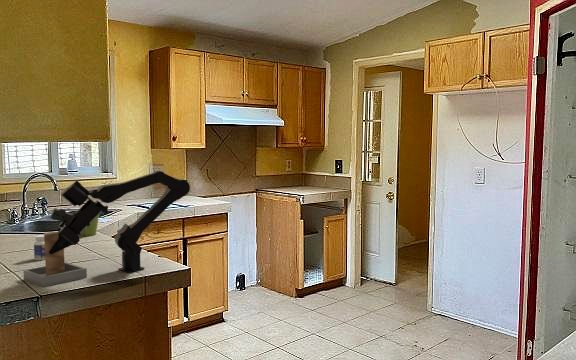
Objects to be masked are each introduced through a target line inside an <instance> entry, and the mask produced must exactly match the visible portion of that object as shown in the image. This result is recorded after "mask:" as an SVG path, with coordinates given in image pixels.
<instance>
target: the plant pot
mask: <svg viewBox="0 0 576 360" xmlns="http://www.w3.org/2000/svg"><path fill="white" fill-rule="evenodd" d="M99 218H100V214H99V215H98V216H97V217H96V218H95V219H94V220H93V221H92V222H91V223H90V225H89V226H87V227H86V228H85V229H84V230H83V231H82V232H81V235H80V236H82V237H83V236H86V237H89V236H90V237H92V236H94V235H97V230H98V223H99Z"/></svg>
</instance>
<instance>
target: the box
mask: <svg viewBox="0 0 576 360" xmlns="http://www.w3.org/2000/svg"><path fill="white" fill-rule="evenodd" d="M64 263H65V272H64V273H59V274H54V275H48V276H46V265H44V266H39V267H33V268H28V269H23V280H25V281H27V282H30V283H33V284H35V285H38V286H40V287H42V288H45V287H49V286H55V285H58V284H64V283H68V281H69V282H71V281H77V279H78V280H81V279H86V278H87V277H88V273H87V271H88V270H87V268H86V267H83V266H79V265H77V264H73V263H70V262H67V261H66V262H65V261H64Z"/></svg>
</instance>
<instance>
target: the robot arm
mask: <svg viewBox="0 0 576 360" xmlns="http://www.w3.org/2000/svg"><path fill="white" fill-rule="evenodd" d="M155 184H161V185H163V186H164V187H166V188H165V191H164V192H163V194H162V195H161V196H160V197H159V198H158V199H157V200H156V201H155V202H154V203H153V204H152V205H151V206H150V207H149V208H147V210H146V211H145V212H144V213H143V214H141V216H140V217H139V218H137V219H136V220H135V222H133V223H131V224H129V225H128V224H127V223H124V224H123V225H122V227H121V228H120V229H118V230H116V234H115V236H114V242H115V245H116V246H117V247H118V248H119V249H120V250H121V267H118V271H121V272H123V273H124V272H125V273H133V272H137V271H142V270H145V267H143V266H141V252H142V249H143V247H142V246H140V244H139V243H137V242H138V241H139V239H140V238H141V235H142V234H143V233H144V231H145V230H146V229H147V228H148V227H149V226H150V225H151V224H152V223H153V222H154V221H155V220H157V218H159V216H161V214H162V213H163V212H165V211H166V210H167V209H168V207H170V206H171V205H172V204H173V203H175V202H178V201H179V200H181V199H182V198H184V197H185V196H187V195H188V194H189V193H190V191H191V185H190V183H189V182H188V181H187V180H185V179H182V178H176V177H173V176H171V175H168V173H167V174H166V173H165V172H164V171H162V170H155V171H154V172H151V173H148V174H145V175H142V176H139V177H135V178H133V179H130V180H126V181H123V182H117V183H108V184H103V185H100V186H99V187H98V188H97V189H90V190H88V189H86V188H85V187H84V186H83V185H82V183H80V181H78V180H75V181H73V183H71V184H70V185H69V186H67V187H66V188H65V189H64V190H63V192H61V194H60V196H61V197H62V198H64V199H65V200H66V201H67V202H69V204H71V205H72V206H73V207H77V206H79V209H78V210H76V211H73V212H72V213H69V212H67V211H66V210H65V209H62V208H60V209H59V208H57V207H54V208H53V210H52V212H51V215H50V219H52V220H54V221H55V220H56V221H59V222H60V223H59V224H58V225H59V226H58V228H57V232H58V239H57V241H56V242H55V244H54V245H53V247H52V248H51V249H50V251H49V253H50V254H53V253H56V252H58V251H60V250H62V249H64V250H65V249H66V248H68V247H69V248H70V247H71V246H73V245H74V246H76V245H77V244H78V243H79V242H80V236H81V232H82V231H83V230H84V229H85V228H86V227H87V226H89V225H90V223H91V222H92V221H93V220H94V219H95V218H96V217H97V216H98V215H99V216H100V214H101V213H102V212H103V213H104V214H105V215H109V210H108V209H109V206H108V205H103V204H102V203H101V202H103V203H104V204H111V203H113V202H115V201H117V200H119V199H120V198H122V197H124V196H125V195H127V194H129V193H131V192H135V191H137V190H141V189H143V188H146V187H150V186H153V185H155ZM89 196H90V197H92V198H93V199H95V201H94V200H93V199H92V198H90V197H89ZM100 201H101V202H100Z"/></svg>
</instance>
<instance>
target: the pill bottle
mask: <svg viewBox="0 0 576 360" xmlns="http://www.w3.org/2000/svg"><path fill="white" fill-rule="evenodd" d="M33 253H34V254H33V255H34V257H33V258H34V260H35V261H45V241H44V234H40V235H36V236H35V241H34V243H33Z"/></svg>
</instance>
